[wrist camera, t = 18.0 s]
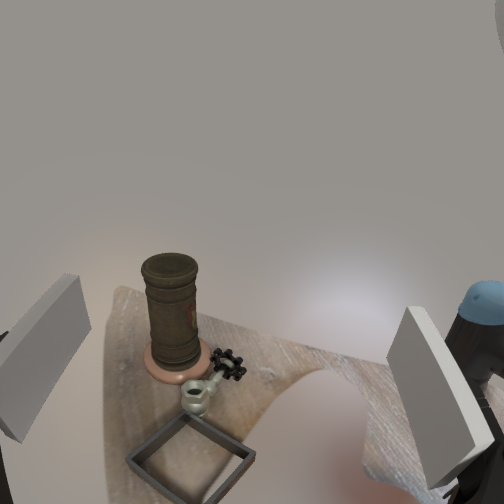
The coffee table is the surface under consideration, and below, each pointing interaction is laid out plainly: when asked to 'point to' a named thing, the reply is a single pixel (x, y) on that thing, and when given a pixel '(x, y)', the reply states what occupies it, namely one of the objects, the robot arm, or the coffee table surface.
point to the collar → (207, 431)
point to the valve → (210, 383)
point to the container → (172, 310)
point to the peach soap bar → (181, 376)
